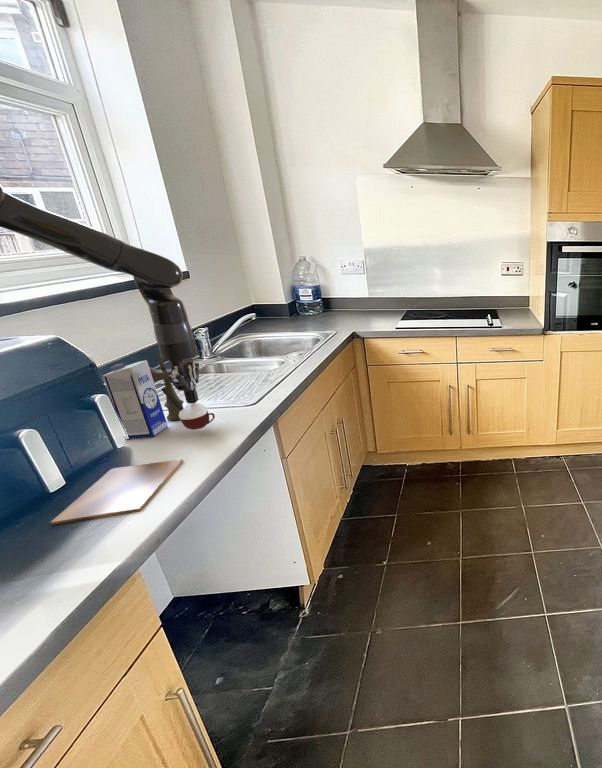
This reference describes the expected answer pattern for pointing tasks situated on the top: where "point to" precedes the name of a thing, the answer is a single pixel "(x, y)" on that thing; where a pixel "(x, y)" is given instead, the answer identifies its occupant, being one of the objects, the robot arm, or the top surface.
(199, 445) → the top surface
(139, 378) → the milk carton
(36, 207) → the robot arm
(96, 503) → the copper plate
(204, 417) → the cocoa
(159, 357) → the kendama
